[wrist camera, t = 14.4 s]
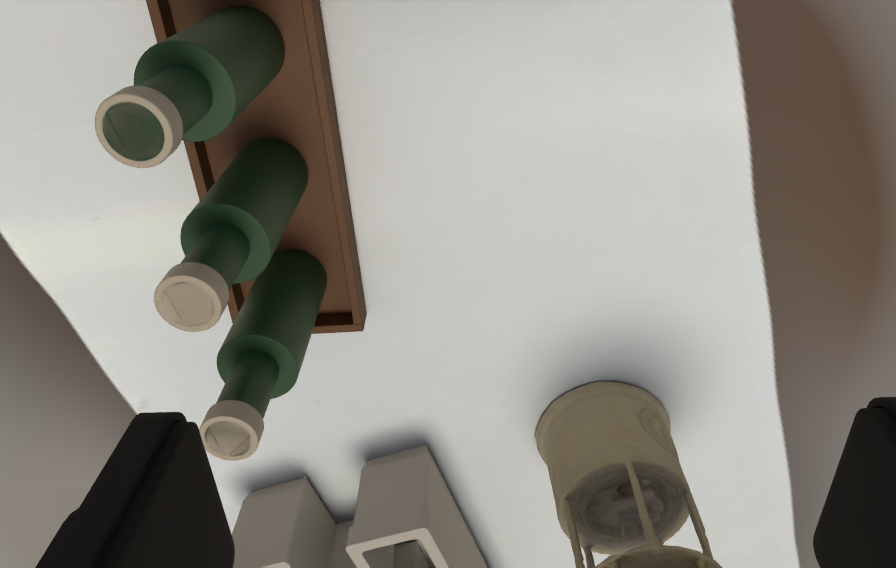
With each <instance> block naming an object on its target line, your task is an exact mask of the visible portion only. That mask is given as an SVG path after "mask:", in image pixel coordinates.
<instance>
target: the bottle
mask: <svg viewBox="0 0 896 568" xmlns="http://www.w3.org/2000/svg"><path fill="white" fill-rule="evenodd" d="M284 58H285V46H284V41H283V38H282V35H281V33H280V31H279V29H278V28H277V26H276V25H275V24H274V22H273V21H272V20H271V19H270V18H269V17H268V16H266V15H265V14H264V13H262V12H261V11H259V10H257V9H255V8H252V7H248V6H231V7H228V8H225V9H223V10H221V11H219V12H217V13H215V14H213V15H211V16H210V17H208V18H206V19H204V20H202V21H200V22H198V23H196V24H194V25H192V26H190V27H188V28H186V29H184V30H183V31H181V32H179V33H177V34H175V35H173V36H171V37H169V38H167V39H165V40H163V41H161V42H159V43H157V44H155V45H154V46H152V47H150V48H149V49H148V50H147V51H146V52H145V53H144V54H143V55H142V56H141V58H140V60H139V61H138V64H137V66H136V69H135V73H134V86H130V87H126V88H124V89H122V90H120V91H118V92H117V93H115V94H113V95H112V96H110V97H108V98H107V99H105V100H104V101H103V102H102V103H101V104H100V106H99V108H98V109H97V112H96V116H95V129H96V133H97V136H98V139H99V141H100V143H101V144H102V146H103V147H104V148H105V150H106V151H107V152H108V153H109V154H110V155H111V156H112V157H114V158H115V159H116V160H118V161H120V162H121V163H123V164H126V165H128V166H132V167H137V168H149V167H153V166H156V165H158V164H160V163H162V162H163V161H164V160H165V159H166V158H167V157H168V156H170V155H171V154H172V153H173V152H174V151H175V150H176V149H177V148H178V146H179V145H180V142H181V140H183V141H189V142H201V141H206V140H210V139H212V138H215V137H216V136H218V135H220V134H221V133H222V132H224V131H225V130H226V128H227V127H228V126H229V125H230V124H231V123H232V122H233V121H234V120H235V119H236V118H237V117H238V116H239V115H240V114H241V113H242V112H243V111H244V110H245V109H246V108H247V106H248V105H249V104H250V103H251V102H252V101H253V100H254V99H255V98H256V97H257V96H258V95H259V94H260V93H261V92H262V91H263V90H264V89H265V88H266V87H267V85H268V84H269V83H270V82H271V81H272V80H273V79H274V78H275V77H276V76H277V75H278V73H279V72H280V70H281V68H282V66H283V63H284Z"/></svg>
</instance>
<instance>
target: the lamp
mask: <svg viewBox="0 0 896 568" xmlns="http://www.w3.org/2000/svg"><path fill="white" fill-rule="evenodd" d="M535 438H536V442H537V447H538V451H539V453H540V455H541V457H542V459H543V460H544V462H545V463H546V465H547V467H548V471H549V475H550V480H551V484H552V489H553V493H554V498H555V503H556V509H557V515H558V520H559V523H560V526H561V528H562V530H563V531H564V533H565V534H566V535H567V537H568V538H569V539H570V540H571V545H572V549H573V553H574V557H575V564H576V568H585V566H584V564H583V560H584V559H583V556H582V553H581V548H580V546H581V547H582V548H583V549H584V552H585V555H586V562H587V568H722V567H721V566H720V565H719V564H718V563H717V562H716V561H715V560H713V557H712V553H711V550H710V547H709V543H708V539H707V537H706V536H705V529H704V526H703V523H702V521H701V518H700V515H699V513H698V510H697V507H696V505H695V502H694V500H693V497H692V494H691V492H690V488H689V485H688V483H687V481H686V479H685V476H684V474H683V471H682V468H681V466H680V463H679V459H678V455H677V451H676V448H675V446H674V443H673V440H672V437H671V435H670V420H669V415H668V413H667V412H666V410H665V408H664V407H663V405H662V404H661V402H660V401H659V400H658V399H657V398H656V397H655V396H653V395H652V394H650V393H649V392H647V391H646V390H644V389H642V388H638V387H635V386H631V385H628V384H624V383H618V382H606V381H599V382H594V383H590V384H587V385H584V386H581V387H579V388H576V389H574V390H572V391H569V392H567V393H565V394H564V395H562V396H561V397H560V398H558V399H557V400H555V401H554V402H553V403H552V404H551V405H550V406H549V408H548V409H547V410H546V412H545V413H544V414H543V416H542V417H541V420H540V422H539V424H538V427H537V430H536V433H535ZM689 514H690V517H691V520H692V522H693V525H694V528H695V530H696V533H697V536H698V538H699V541H700V544H701V547H702V549H703V554H702V553H700V552H698V551H695V550H691V549H687V548H683V547H679V546H665V545H663V544H664V542H665V541H666V540H668V539H669V538H671V537H672V536H673V535H674V534H675V533H676V532H677V531H679V530H680V528H681V527H682V526H683V524H684V523H685V522H686V520H687V518H688V515H689ZM591 551H594V552H597V553H600V554H610V555H611V556H609V557H608V558H607V559H605V560H604V561H603V562H601V563H600V564H599V565H597V566H595V564H594V560H593V556H592V552H591ZM594 566H595V567H594Z"/></svg>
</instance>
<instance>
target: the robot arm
mask: <svg viewBox="0 0 896 568" xmlns="http://www.w3.org/2000/svg"><path fill="white" fill-rule="evenodd" d="M813 546H814V552H815V556H816V559H817V561H818V563H819V566H820V568H896V397H880V398H874V399H873V400H871V401H870V402H869V404H868V406H867V408H863V409H860V410H859V411H858V412H857V414H856V416H855V418H854V421H853V424H852V427H851V430H850V433H849V436H848V438H847V441H846V445H845V447H844V450H843V453H842V456H841V459H840V461H839V465H838V467H837V470H836V473H835V476H834V479H833V482H832V485H831V487H830V491H829V493H828V496H827V499H826V502H825V505H824V508H823V510H822V513H821V516H820V519H819V522H818V525H817V528H816V531H815V534H814V538H813ZM234 558H235V547H234V541H233V538H232V535H231V532H230V529H229V525H228V522H227V519H226V516H225V512H224V509H223V506H222V503H221V500H220V496H219V493H218V490H217V487H216V483H215V480H214V477H213V474H212V470H211V467H210V464H209V461H208V458H207V454H206V451H205V448H204V445H203V441H202V438H201V435H200V432H199V429H198V426H197V424H195V423H194V422H187V420H186V418H185V416H184V415H183V414H182V413H180V412H159V413H140V414H138V415H136V417H135V418H134V419H133V420H132V422H131V423H130V425H129V427H128V428H127V430H126V432H125V433H124V435H123V436H122V438H121V440H120V441H119V443H118V445H117V446H116V448H115V450H114V451H113V453H112V454H111V456H110V458H109V459H108V461H107V463H106V464H105V466H104V468H103V469H102V471H101V473H100V474H99V476H98V478H97V479H96V481H95V482H94V484H93V486H92V487H91V489H90V491H89V492H88V494H87V496H86V497H85V499H84V501H83V502H82V504H81V506H80V507H79V508H78V509H77V510H76V511H74V512H72V513H71V514H70V515H69V516H68V518H67V519H66V520H65V521H64V523H63V524H62V526H61V527H60V529H59V530H58V532H57V534H56V535H55V537H54V538H53V540H52V542H51V543H50V545H49V547H48V548H47V550H46V551H45V553H44V555H43V556H42V558H41V560H40V561H39V563H38V564H37V566H36V568H233V565H234Z"/></svg>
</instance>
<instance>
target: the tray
mask: <svg viewBox="0 0 896 568" xmlns="http://www.w3.org/2000/svg"><path fill="white" fill-rule="evenodd" d="M146 2H147V6H148V10H149V13H150V17H151V21H152V24H153V28H154V32H155V36H156V39H157V43H159V42H161V41H163V40H165V39H167V38H169V37H171V36H173V35H175V34H177V33H179V32H181V31H183V30H184V29H186V28H188V27H190V26H192V25H194V24H196V23H198V22H200V21H202V20H204V19H206V18H208V17H210V16H211V15H213V14H215V13H217V12H219V11H221V10H223V9H225V8H228V7H231V6H248V7H252V8H255V9H257V10H259V11H261V12H262V13H264V14H265V15H266V16H268V17H269V18H270V19H271V20H272V21H273V22H274V24H275V25H276V26H277V28H278V29H279V31H280V33H281V35H282V38H283V41H284V46H285V58H284V63H283V66H282V68H281V70H280V72H279V73H278V75H277V76H276V77H275V78H274V79H273V80H272V81H271V82H270V83H269V84H268V85H267V87H266V88H265V89H264V90H263V91H262V92H261V93H260V94H259V95H258V96H257V97H256V98H255V99H254V100H253V101H252V102H251V103H250V104H249V105H248V106H247V108H246V109H245V110H244V111H243V112H242V113H241V114H240V115H239V116H238V117H237V118H236V119H235V120H234V121H233V122H232V123H231V124H230V125H229V126H228V127H227V128H226V130H225V131H224V132H222V133H221V134H220V135H218V136H216V137H215V138H212V139H210V140H206V141H201V142H189V141H184V144H185V147H186V151H187V155H188V158H189V162H190V166H191V170H192V173H193V177H194V181H195V185H196V188H197V192H198V196H199V199H200V201H201V199H202V198H203V197H204V196H205V194H206V193H207V192H208V191H209V189H210V188H211V187H212V186H213V185H214V183H215V182H216V181H217V180H218V178H219V177H220V176H221V175H222V174H223V172H224V171H225V170H226V169H227V167H228V166H229V165H230V164H231V162H232V161H233V160H234V159H235V158H236V156H237V155H238V154H239V153H240V151H241V150H242V149H243V148H244V147H245V146H246V145H247V144H248V143H250V142H252V141H254V140H256V139H260V138H276V139H280V140H283V141H285V142H287V143H289V144H290V145H292V146H293V147H294V148H295V149H296V150H297V151H298V152H299V153H300V154H301V155H302V157H303V158H304V160H305V162H306V165H307V168H308V183H307V186H306V189H305V191H304V193H303V195H302V197H301V199H300V201H299V203H298V205H297V207H296V209H295V211H294V213H293V215H292V217H291V219H290V221H289V223H288V225H287V227H286V229H285V231H284V233H283V235H282V237H281V239H280V241H279V243H278V245H277V247H276V249H275V251H274V253H275V252H277V251H280V250H285V249H296V250H301V251H304V252H307V253H309V254H310V255H312V256H314V257H315V258H316V259H317V260H318V261H319V262H320V263H321V264H322V266H323V268H324V270H325V272H326V275H327V287H326V290H325V293H324V296H323V299H322V303H321V306H320V309H319V312H318V315H317V318H316V321H315V324H314V328H313V331H312V334H316V333H335V332H354V331H363V329H364V324H365V319H366V315H367V314H366V307H365V301H364V294H363V287H362V281H361V274H360V267H359V261H358V254H357V247H356V241H355V234H354V227H353V221H352V214H351V207H350V201H349V194H348V187H347V181H346V174H345V167H344V161H343V154H342V147H341V141H340V134H339V127H338V121H337V114H336V107H335V100H334V94H333V87H332V80H331V74H330V67H329V60H328V54H327V47H326V40H325V34H324V27H323V20H322V14H321V7H320V0H146ZM256 278H257V277H256ZM256 278H254V279H252V280H250V281H247V282H243V283H235V284H233V285H232V287H231V289H230V291H229V301H228V307H229V311H230V315H231V319H232V322H233V323H234V321H235V319H236V317H237V315H238V313H239V311H240V309H241V307H242V305H243V303H244V301H245V300H246V298H247V296H248V294H249V292H250V290H251V288H252V286H253V284H254V282H255V280H256Z"/></svg>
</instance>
